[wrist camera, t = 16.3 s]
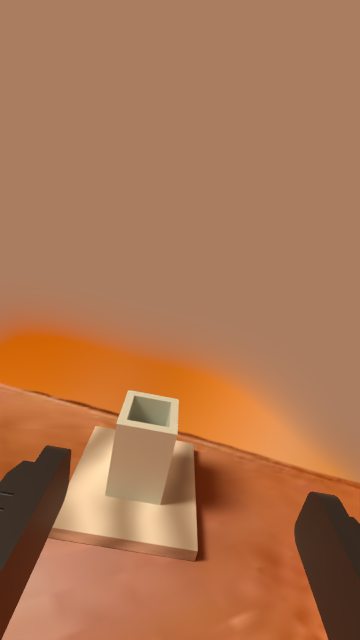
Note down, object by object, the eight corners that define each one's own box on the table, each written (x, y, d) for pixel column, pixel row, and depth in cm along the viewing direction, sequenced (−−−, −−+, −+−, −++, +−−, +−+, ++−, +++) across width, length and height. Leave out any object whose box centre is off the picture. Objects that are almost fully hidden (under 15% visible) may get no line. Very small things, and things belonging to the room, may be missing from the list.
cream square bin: (163, 461, 38) (178, 399, 35) (160, 505, 32) (177, 434, 29) (117, 453, 38) (128, 390, 35) (104, 496, 32) (116, 423, 29)
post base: (191, 451, 43) (203, 405, 40) (194, 561, 28) (214, 500, 26) (94, 434, 42) (101, 385, 40) (48, 537, 28) (53, 472, 25)
